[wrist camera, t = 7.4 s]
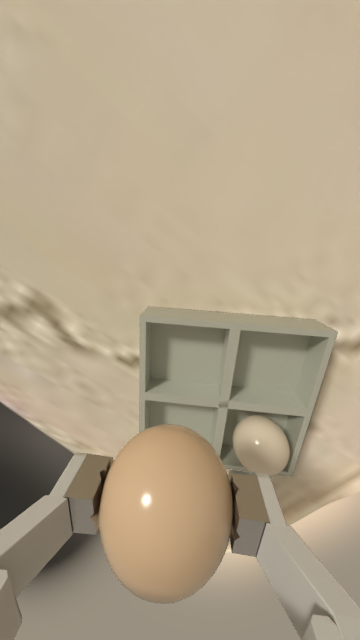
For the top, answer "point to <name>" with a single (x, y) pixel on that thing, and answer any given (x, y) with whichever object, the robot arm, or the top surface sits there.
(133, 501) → the brown egg
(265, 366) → the carton
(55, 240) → the top surface
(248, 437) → the pale egg
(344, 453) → the top surface
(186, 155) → the top surface
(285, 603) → the robot arm
